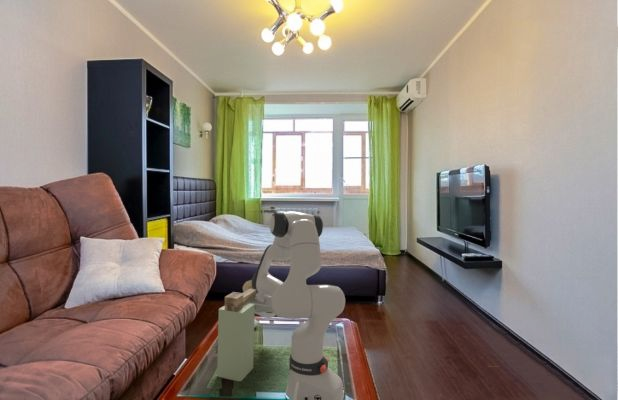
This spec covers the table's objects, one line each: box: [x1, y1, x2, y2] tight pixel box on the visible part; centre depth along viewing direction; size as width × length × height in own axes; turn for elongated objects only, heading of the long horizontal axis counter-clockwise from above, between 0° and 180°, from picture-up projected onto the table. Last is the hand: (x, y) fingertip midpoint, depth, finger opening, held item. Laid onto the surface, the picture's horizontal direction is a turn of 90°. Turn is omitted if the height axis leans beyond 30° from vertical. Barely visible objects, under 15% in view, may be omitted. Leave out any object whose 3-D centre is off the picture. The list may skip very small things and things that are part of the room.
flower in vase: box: [242, 279, 259, 329], centre depth 171 cm, size 13×11×25 cm
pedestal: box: [216, 303, 256, 382], centre depth 131 cm, size 10×10×26 cm
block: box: [224, 289, 257, 312], centre depth 134 cm, size 5×18×5 cm, turn 162°
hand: (246, 296), depth 137 cm, fingers open, 8 cm apart
